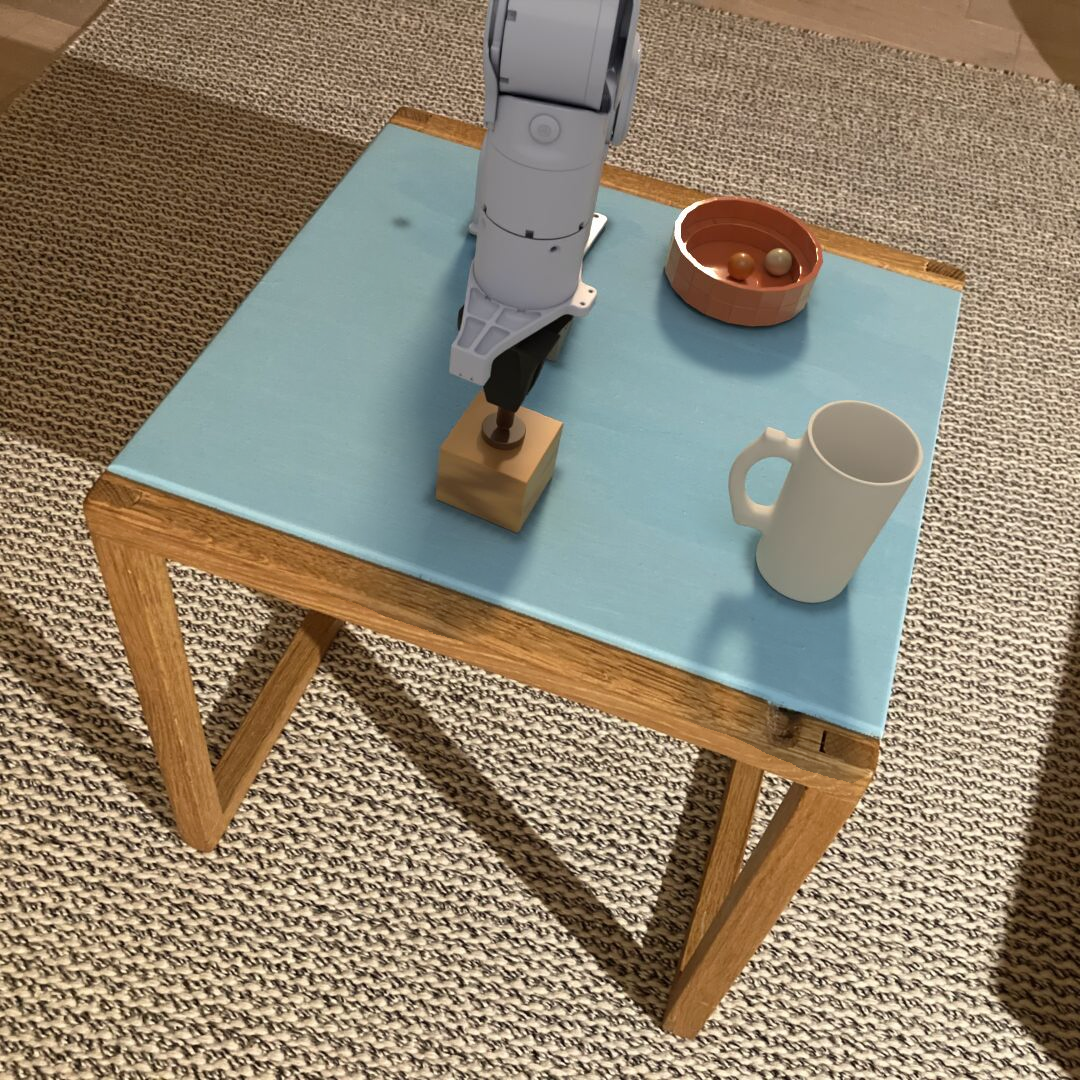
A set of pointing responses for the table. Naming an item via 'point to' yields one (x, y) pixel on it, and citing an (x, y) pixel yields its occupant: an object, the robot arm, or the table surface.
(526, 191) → the robot arm
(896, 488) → the mug
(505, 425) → the brown peg
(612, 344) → the table surface
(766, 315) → the bowl
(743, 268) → the amber bead
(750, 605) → the table surface
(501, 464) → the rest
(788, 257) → the cream bead
